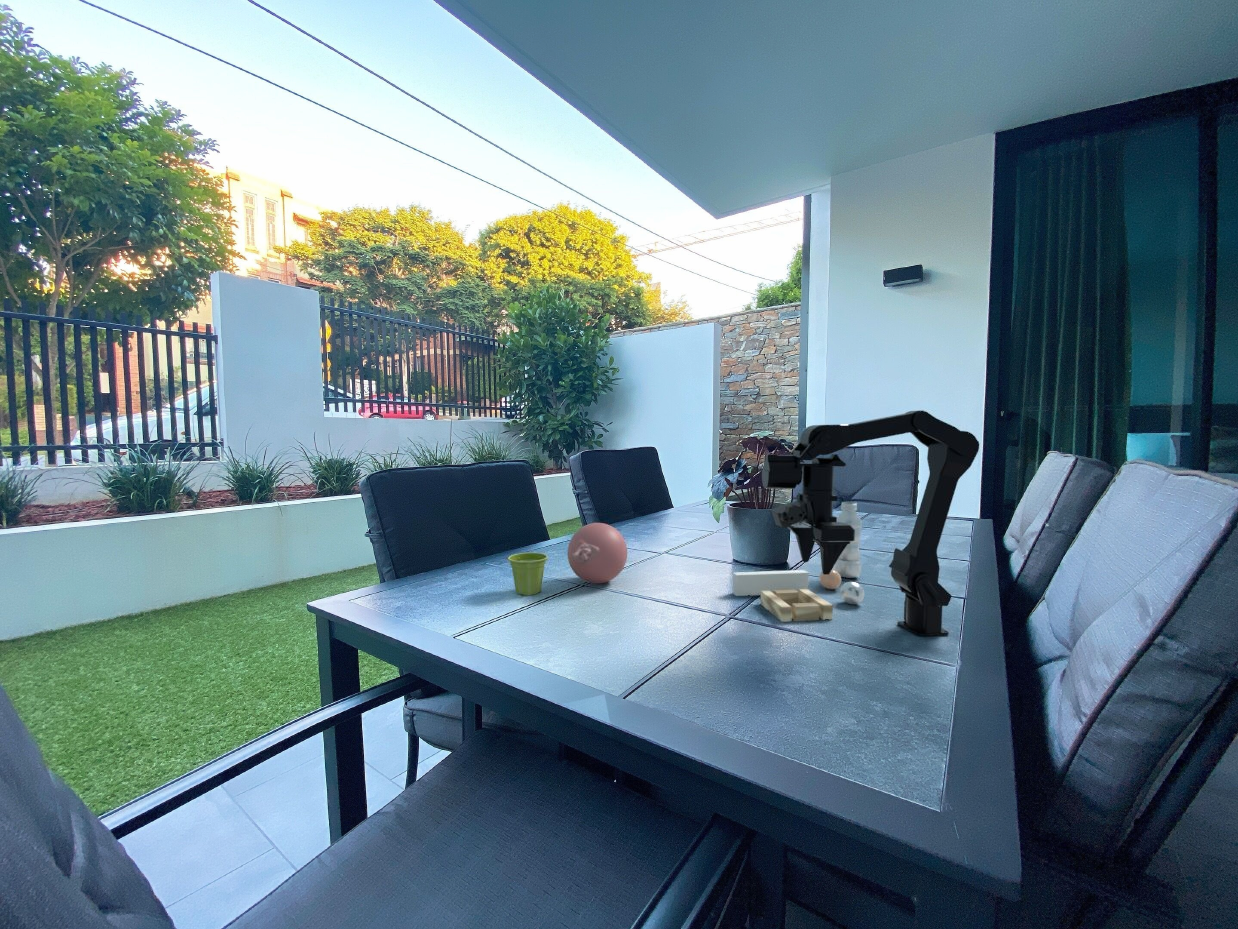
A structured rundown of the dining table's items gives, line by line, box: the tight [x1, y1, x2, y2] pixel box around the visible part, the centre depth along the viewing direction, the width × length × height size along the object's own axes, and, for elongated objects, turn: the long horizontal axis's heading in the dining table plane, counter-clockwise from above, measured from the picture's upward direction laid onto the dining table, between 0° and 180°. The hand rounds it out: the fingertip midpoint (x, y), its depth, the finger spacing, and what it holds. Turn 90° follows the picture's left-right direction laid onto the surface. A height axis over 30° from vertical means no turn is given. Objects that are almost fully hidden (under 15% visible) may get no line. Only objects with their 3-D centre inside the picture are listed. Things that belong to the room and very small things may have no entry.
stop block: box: [732, 569, 810, 597], centre depth 124 cm, size 2×18×5 cm, turn 97°
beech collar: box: [760, 588, 834, 623], centre depth 111 cm, size 11×11×3 cm
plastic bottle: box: [833, 501, 863, 579], centre depth 137 cm, size 6×7×20 cm
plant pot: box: [507, 552, 549, 596], centre depth 125 cm, size 9×9×9 cm
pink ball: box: [567, 522, 628, 584], centre depth 130 cm, size 15×20×15 cm
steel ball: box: [839, 581, 865, 605], centre depth 116 cm, size 5×5×5 cm
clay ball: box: [819, 568, 842, 590], centre depth 127 cm, size 5×5×5 cm
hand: (815, 567), depth 101 cm, fingers open, 9 cm apart
